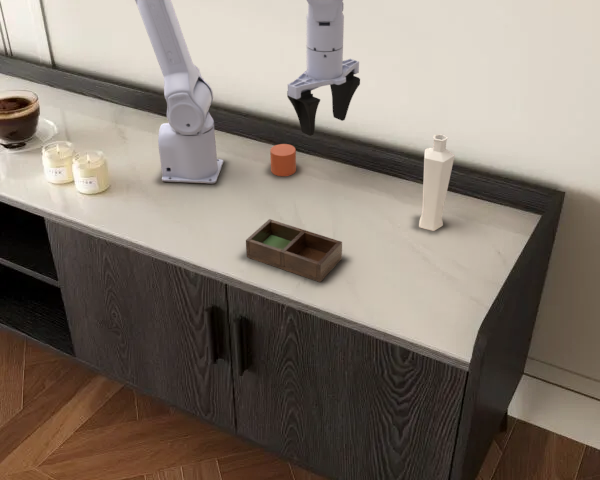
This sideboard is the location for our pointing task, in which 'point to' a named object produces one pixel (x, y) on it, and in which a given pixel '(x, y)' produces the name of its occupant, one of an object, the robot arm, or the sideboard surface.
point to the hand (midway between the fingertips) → (323, 125)
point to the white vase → (435, 182)
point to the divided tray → (294, 250)
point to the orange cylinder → (283, 159)
